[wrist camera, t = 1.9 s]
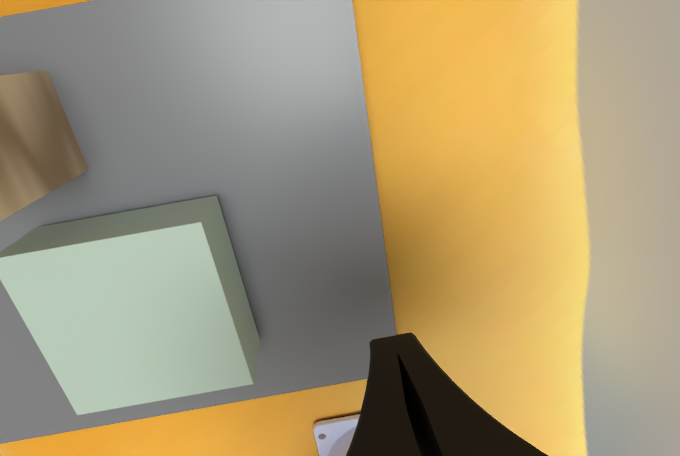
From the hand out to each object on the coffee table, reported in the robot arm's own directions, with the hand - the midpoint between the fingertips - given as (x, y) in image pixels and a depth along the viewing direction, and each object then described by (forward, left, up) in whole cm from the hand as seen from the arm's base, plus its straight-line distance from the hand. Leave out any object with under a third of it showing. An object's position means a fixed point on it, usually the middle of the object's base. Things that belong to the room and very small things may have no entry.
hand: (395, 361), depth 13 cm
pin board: (+2, +11, -10) cm, 15 cm away
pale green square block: (0, +10, -8) cm, 13 cm away
